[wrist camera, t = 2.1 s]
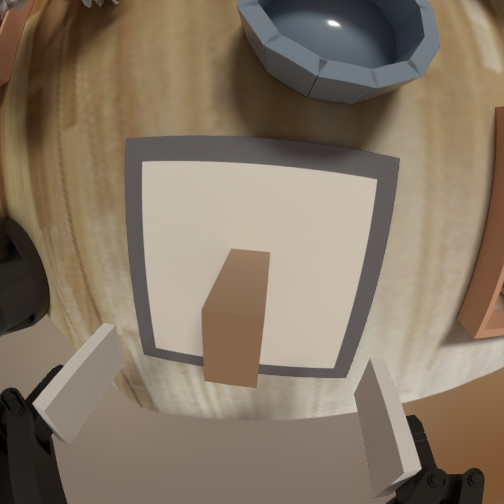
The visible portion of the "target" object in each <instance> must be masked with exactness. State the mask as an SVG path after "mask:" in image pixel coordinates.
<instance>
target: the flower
mask: <svg viewBox="0 0 504 504" xmlns="http://www.w3.org/2000/svg"><path fill="white" fill-rule="evenodd" d="M82 1H83V3H84V5H85V6H87V7H89V8H90V7H91V3H92V0H82ZM94 1H95V2H97V4H99V7H101V5H102V6H103V3H104V0H94ZM109 1H110V0H109ZM112 1H113V2H114V4H118V3H119V2H117V1H116V0H112ZM26 3H27V0H0V15H2V17H1V20H3V15H4V14H5V13H6V12H7V11H9V10H10V9H11V8H14V9H16V10H18V11H19V10H20V9H21V8H22V7H23V6H24V5H25V4H26Z"/></svg>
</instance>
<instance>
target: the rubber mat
mask: <svg viewBox="0 0 504 504" xmlns="http://www.w3.org/2000/svg"><path fill="white" fill-rule="evenodd" d="M145 161H206V162H231V163H248V164H262V165H274V166H285V167H295V168H304V169H312V170H320V171H328V172H335V173H342V174H349V175H355V176H361V177H367V178H373V179H377V186H376V194H375V201H374V207H373V214H372V220H371V226H370V231H369V237H368V242H367V247H366V252H365V257H364V262H363V266H362V271H361V275H360V279H359V283H358V288H357V292H356V296H355V299H354V303H353V307H352V311H351V314H350V318H349V321H348V325H347V328H346V332H345V335H344V338H343V341H342V345H341V348H340V351H339V354H338V357H337V360H336V363H335V366H334V368H307V367H289V366H276V365H264V364H259V370H258V374H267V375H279V376H294V377H317V378H346V376H347V374H348V371H349V369H350V366H351V364H352V361H353V358H354V356H355V353H356V350H357V347H358V345H359V342H360V339H361V336H362V333H363V330H364V327H365V324H366V321H367V317H368V314H369V311H370V308H371V304H372V301H373V297H374V294H375V290H376V286H377V283H378V279H379V275H380V271H381V267H382V262H383V258H384V254H385V249H386V245H387V240H388V235H389V230H390V224H391V219H392V213H393V207H394V201H395V194H396V187H397V179H398V171H399V161H400V158H395V157H391V156H386V155H382V154H377V153H372V152H367V151H362V150H356V149H350V148H344V147H338V146H332V145H325V144H318V143H310V142H301V141H292V140H282V139H270V138H256V137H238V136H162V137H143V138H130V139H126V153H125V202H126V225H127V240H128V252H129V262H130V272H131V280H132V288H133V295H134V302H135V309H136V315H137V321H138V326H139V332H140V337H141V342H142V347H143V352H144V354H145V355H149V356H153V357H158V358H162V359H167V360H172V361H177V362H182V363H187V364H192V365H198V366H204V363H203V357H202V356H196V355H190V354H185V353H179V352H174V351H169V350H164V349H159V348H156V345H155V339H154V333H153V326H152V319H151V312H150V304H149V296H148V287H147V278H146V267H145V254H144V238H143V216H142V162H145Z"/></svg>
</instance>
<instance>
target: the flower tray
mask: <svg viewBox="0 0 504 504" xmlns="http://www.w3.org/2000/svg"><path fill="white" fill-rule="evenodd" d="M33 2H34V0H27V3H26V4H25V5H24V6H23V7H22V8H21V9H20V10H19V11H18V10H16V9H14V8H11V9H10V10H9V11H7V12H6V13H5V14H4V15H3V19H4V20H3V22H2V25H1V27H0V86H2V85H4V84H5V83H7V82H8V81H10V76H11V71H12V67H13V63H14V59H15V55H16V51H17V47H18V44H19V41H20V37H21V34H22V31H23V28H24V25H25V22H26V20H27V17H28V14H29V12H30V9H31V7H32V4H33ZM1 17H2V15H0V22H1V21H2V20H1Z"/></svg>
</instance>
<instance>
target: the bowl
mask: <svg viewBox="0 0 504 504" xmlns="http://www.w3.org/2000/svg"><path fill="white" fill-rule="evenodd" d="M237 8H238V11H239V14H240V18H241V21H242V24H243V28H244V31H245V34H246V38H247V40H248V42H249V44H250V45H251V47H252V48H253V50H254V52H255V54H256V56H257V58H258V59H259V60H260V62H261V63H262V65H263V66H264V68H265V70H266V71H267V72H268V73H269V74H270V75H272V76H274V77H275V78H276V79H277V80H279V81H280V82H282V83H283V84H285V85H286V86H288V87H289V88H291V89H293V90H295V91H297V92H299V93H301V94H303V95H304V96H306V97H307V96H308V97H309V98H315V99H318V100H323V101H328V102H335V103H347V104H356V103H359V102H362V101H365V100H369V99H372V98H374V97H377V96H380V95H384V94H387V93H390V92H392V91H393V90H395V89H397V88H399V87H401V86H403V85H405V84H407V83H409V82H411V81H413V80H415V79H417V78H420V77H421V76H422V75H423V74H424V72H425V70H426V69H427V67H428V66H429V64H430V63H431V61H432V59H433V58H434V56H435V55H436V53H437V51H438V50H439V48H440V42H439V36H438V30H437V24H436V19H435V14H434V10H433V8H432V7H431V5H430V4H429V3H428V1H427V0H238V1H237Z"/></svg>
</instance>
